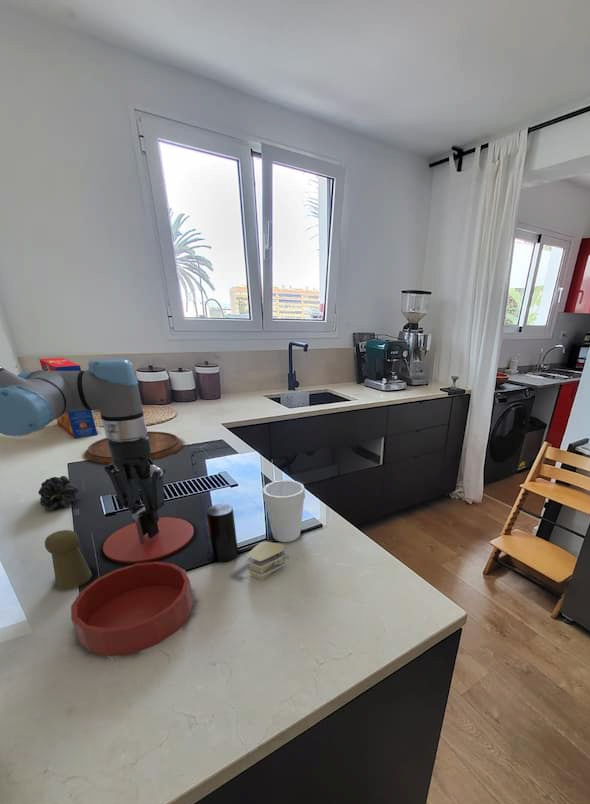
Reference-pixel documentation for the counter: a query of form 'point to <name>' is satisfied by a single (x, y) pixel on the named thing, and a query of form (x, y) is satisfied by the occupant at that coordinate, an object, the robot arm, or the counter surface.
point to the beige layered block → (265, 559)
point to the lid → (147, 540)
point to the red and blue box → (71, 421)
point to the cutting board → (159, 446)
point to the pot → (132, 608)
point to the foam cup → (284, 508)
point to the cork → (67, 559)
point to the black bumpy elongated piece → (57, 493)
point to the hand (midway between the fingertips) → (149, 533)
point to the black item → (222, 532)
